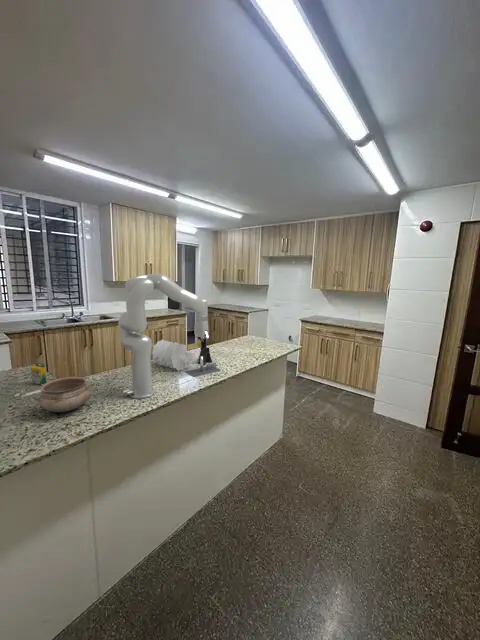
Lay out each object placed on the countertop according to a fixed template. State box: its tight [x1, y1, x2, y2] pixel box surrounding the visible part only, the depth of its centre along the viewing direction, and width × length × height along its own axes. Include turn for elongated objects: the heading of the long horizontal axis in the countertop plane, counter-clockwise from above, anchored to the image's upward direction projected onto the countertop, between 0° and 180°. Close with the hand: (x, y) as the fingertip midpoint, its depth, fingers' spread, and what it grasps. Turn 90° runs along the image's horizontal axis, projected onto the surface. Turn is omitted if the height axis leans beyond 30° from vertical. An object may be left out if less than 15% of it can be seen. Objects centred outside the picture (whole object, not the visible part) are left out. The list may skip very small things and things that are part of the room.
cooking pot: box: [30, 376, 96, 414], centre depth 122 cm, size 25×19×12 cm
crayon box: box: [30, 362, 48, 385], centre depth 149 cm, size 7×3×12 cm, turn 73°
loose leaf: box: [186, 338, 208, 351], centre depth 169 cm, size 12×4×5 cm, turn 130°
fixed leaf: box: [199, 356, 218, 372], centre depth 177 cm, size 12×3×10 cm, turn 130°
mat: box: [184, 365, 222, 378], centre depth 175 cm, size 21×12×1 cm, turn 130°
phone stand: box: [197, 346, 213, 366], centre depth 190 cm, size 9×6×12 cm, turn 143°
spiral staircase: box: [151, 338, 195, 372], centre depth 180 cm, size 18×18×25 cm
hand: (201, 346), depth 172 cm, fingers closed on loose leaf, 4 cm apart
